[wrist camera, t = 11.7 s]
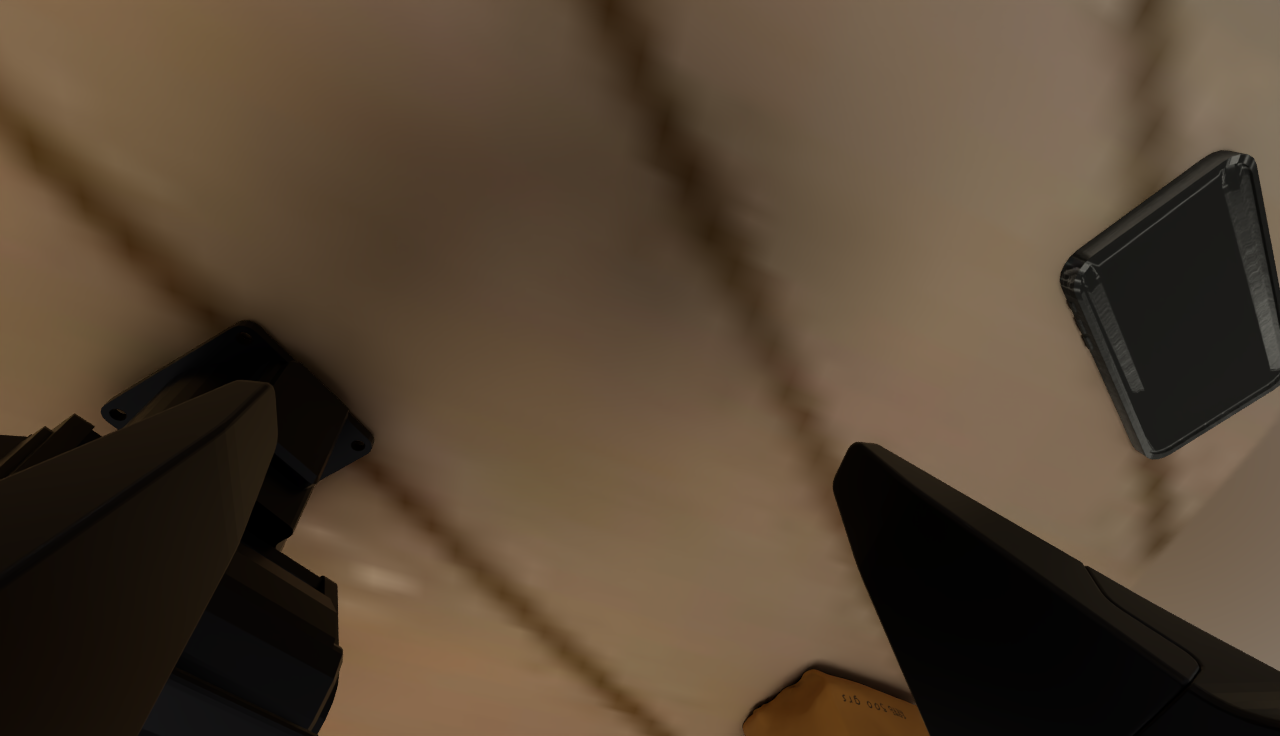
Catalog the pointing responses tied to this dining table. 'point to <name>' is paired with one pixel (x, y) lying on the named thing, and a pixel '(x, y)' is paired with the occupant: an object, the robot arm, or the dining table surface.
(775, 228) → the dining table surface
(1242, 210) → the phone
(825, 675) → the coffee package
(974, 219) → the dining table surface
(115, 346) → the dining table surface
